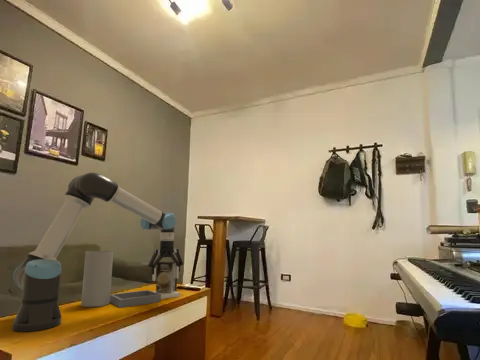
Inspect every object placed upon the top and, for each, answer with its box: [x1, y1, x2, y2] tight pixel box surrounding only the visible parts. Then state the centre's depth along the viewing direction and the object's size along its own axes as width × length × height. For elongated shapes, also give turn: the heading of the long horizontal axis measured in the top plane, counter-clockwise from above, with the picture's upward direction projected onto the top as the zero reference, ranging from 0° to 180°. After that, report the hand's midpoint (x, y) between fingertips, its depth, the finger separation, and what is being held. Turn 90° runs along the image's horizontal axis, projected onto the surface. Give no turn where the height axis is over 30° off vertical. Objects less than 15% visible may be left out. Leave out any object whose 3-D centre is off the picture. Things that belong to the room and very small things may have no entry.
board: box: [152, 290, 181, 300], centre depth 167 cm, size 12×12×2 cm
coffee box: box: [155, 261, 177, 293], centre depth 169 cm, size 9×6×16 cm
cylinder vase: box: [80, 250, 114, 308], centre depth 149 cm, size 12×12×25 cm
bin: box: [109, 289, 162, 309], centre depth 153 cm, size 20×16×4 cm
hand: (165, 279), depth 169 cm, fingers open, 13 cm apart
